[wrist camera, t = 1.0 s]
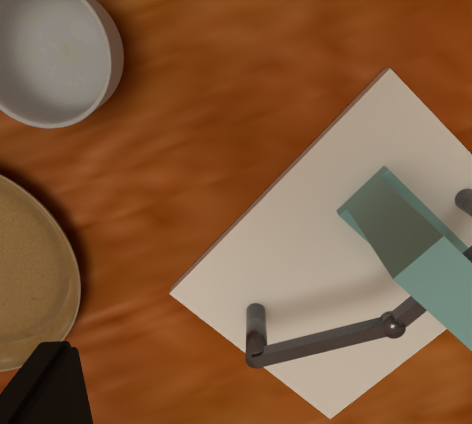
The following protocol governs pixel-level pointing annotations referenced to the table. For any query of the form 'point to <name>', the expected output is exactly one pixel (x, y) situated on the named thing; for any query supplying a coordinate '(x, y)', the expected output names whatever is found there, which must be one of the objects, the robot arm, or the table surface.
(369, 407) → the table surface
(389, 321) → the dark hinged linkage
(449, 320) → the teal rectangular frame
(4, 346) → the plant saucer
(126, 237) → the table surface
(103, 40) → the teacup
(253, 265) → the base board
